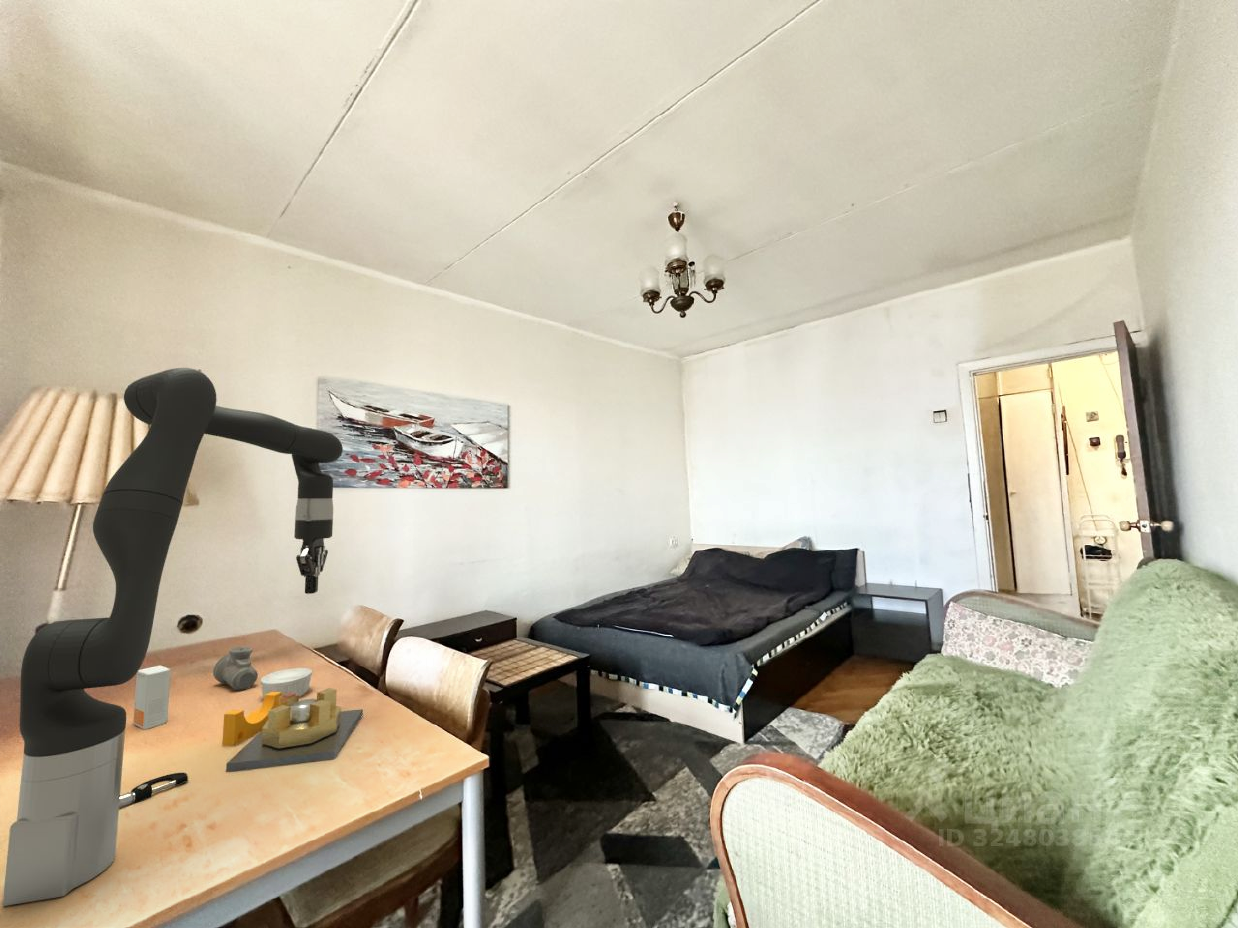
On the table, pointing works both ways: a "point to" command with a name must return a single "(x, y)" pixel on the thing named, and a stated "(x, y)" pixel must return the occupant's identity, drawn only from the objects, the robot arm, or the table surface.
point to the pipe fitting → (236, 669)
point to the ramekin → (287, 681)
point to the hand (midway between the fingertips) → (311, 592)
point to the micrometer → (146, 789)
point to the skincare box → (152, 697)
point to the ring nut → (319, 725)
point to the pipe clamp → (247, 721)
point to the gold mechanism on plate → (316, 751)
